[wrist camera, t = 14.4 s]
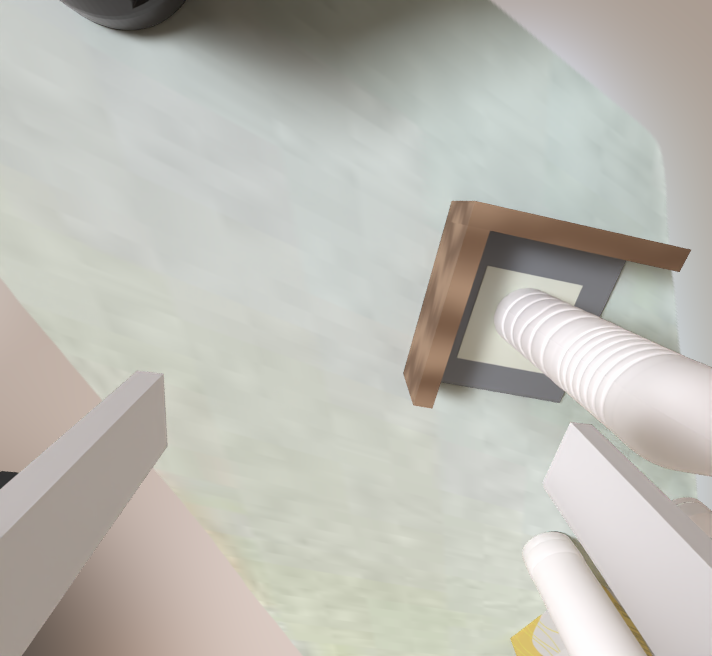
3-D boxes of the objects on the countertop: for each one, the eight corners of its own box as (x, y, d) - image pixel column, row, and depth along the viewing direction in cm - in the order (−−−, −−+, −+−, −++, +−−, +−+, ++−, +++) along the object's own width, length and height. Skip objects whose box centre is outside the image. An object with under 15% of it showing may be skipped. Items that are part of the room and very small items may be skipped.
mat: (464, 225, 36) (466, 225, 36) (622, 259, 38) (626, 260, 37) (419, 376, 42) (420, 378, 42) (556, 400, 44) (559, 403, 43)
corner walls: (451, 200, 35) (475, 201, 29) (630, 240, 37) (691, 249, 31) (403, 373, 42) (413, 405, 35) (556, 400, 44) (593, 435, 37)
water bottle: (530, 274, 37) (841, 394, 14) (561, 317, 39) (883, 487, 16) (465, 325, 39) (641, 507, 16) (497, 364, 41) (698, 580, 17)
